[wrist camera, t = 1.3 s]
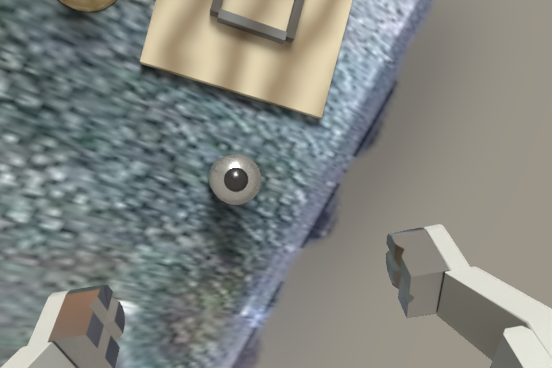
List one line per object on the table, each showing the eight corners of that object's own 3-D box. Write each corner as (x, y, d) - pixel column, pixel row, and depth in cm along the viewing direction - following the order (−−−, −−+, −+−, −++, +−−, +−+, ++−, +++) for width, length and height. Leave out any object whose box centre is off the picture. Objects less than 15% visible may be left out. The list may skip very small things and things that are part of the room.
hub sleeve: (203, 191, 47) (204, 197, 38) (214, 151, 47) (218, 148, 38) (243, 202, 48) (253, 210, 39) (253, 162, 48) (266, 161, 39)
